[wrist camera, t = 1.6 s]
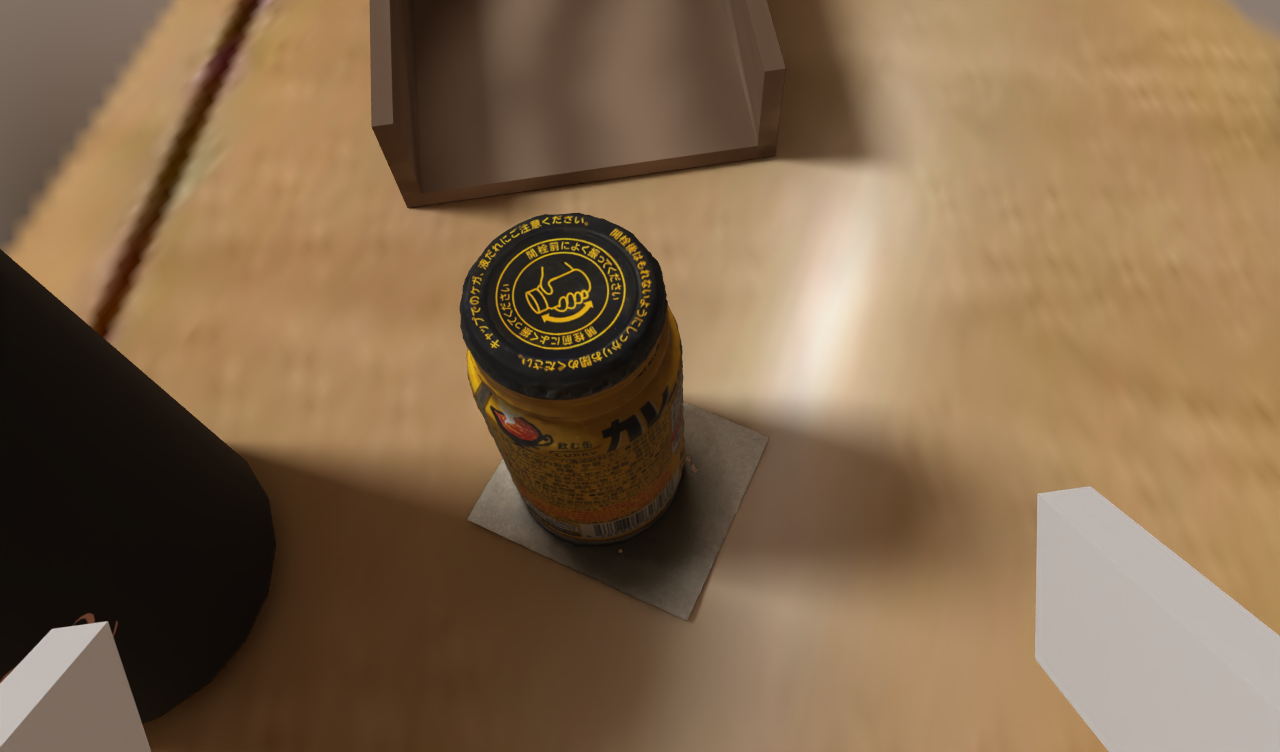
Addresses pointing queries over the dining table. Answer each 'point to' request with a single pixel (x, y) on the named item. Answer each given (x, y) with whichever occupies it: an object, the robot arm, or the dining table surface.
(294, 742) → the dining table surface
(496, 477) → the condiment
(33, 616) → the coffee jar
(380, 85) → the caddy
